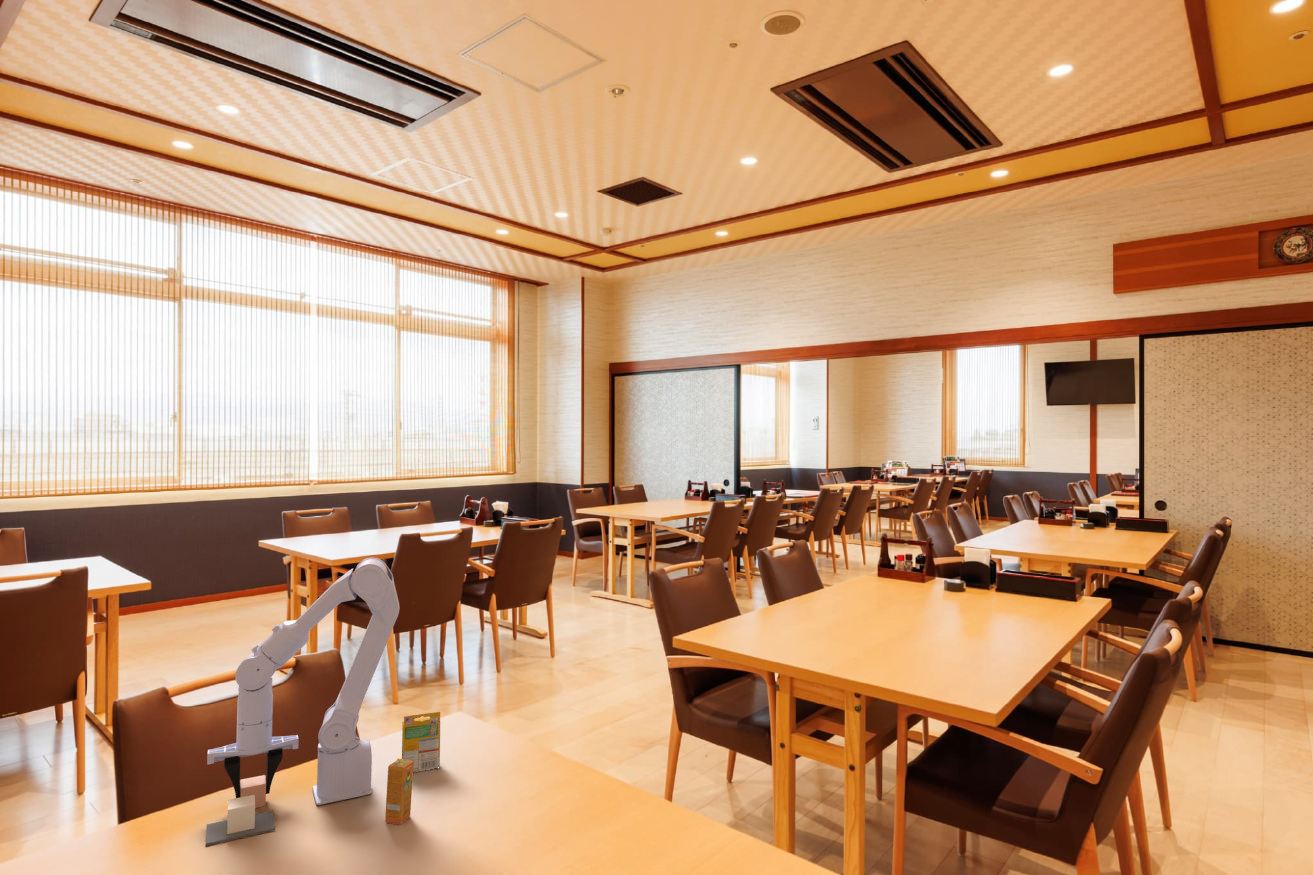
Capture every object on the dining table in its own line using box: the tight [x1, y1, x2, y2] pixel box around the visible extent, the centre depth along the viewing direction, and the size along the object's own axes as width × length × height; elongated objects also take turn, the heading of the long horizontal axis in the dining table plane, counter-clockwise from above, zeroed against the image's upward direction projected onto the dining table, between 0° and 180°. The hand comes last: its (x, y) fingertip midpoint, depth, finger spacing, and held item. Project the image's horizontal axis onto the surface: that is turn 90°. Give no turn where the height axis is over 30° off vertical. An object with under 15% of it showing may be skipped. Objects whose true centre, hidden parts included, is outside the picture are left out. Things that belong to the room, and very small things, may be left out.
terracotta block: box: [240, 774, 267, 809], centre depth 131 cm, size 4×4×4 cm
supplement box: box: [384, 758, 414, 826], centre depth 126 cm, size 3×3×10 cm
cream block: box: [226, 795, 256, 834], centre depth 123 cm, size 4×4×4 cm
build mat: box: [205, 810, 276, 847], centre depth 122 cm, size 10×7×1 cm
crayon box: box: [401, 711, 441, 773], centre depth 147 cm, size 7×3×12 cm, turn 114°
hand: (252, 794), depth 131 cm, fingers closed on terracotta block, 4 cm apart
